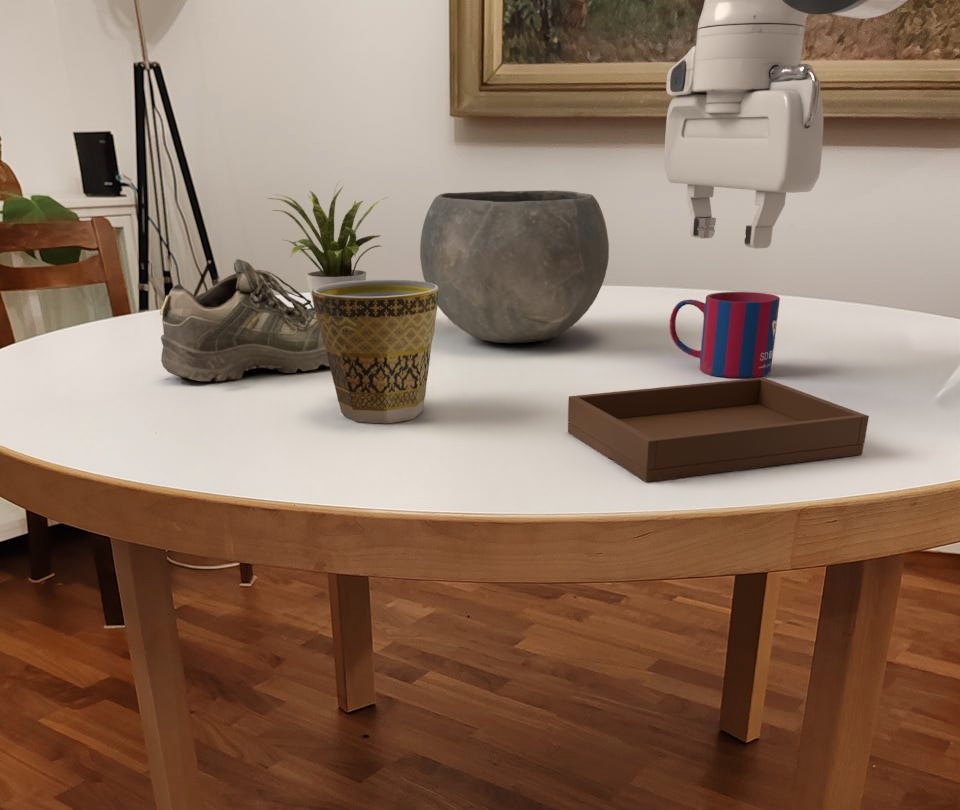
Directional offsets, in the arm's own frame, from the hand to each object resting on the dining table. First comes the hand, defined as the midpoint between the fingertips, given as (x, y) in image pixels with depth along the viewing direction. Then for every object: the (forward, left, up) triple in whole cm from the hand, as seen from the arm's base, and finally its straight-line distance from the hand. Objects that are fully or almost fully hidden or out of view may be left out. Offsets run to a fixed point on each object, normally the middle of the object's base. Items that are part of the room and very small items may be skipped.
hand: (728, 242), depth 90 cm
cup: (0, 0, -12) cm, 12 cm away
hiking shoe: (+41, -17, -12) cm, 46 cm away
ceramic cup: (+35, +3, -12) cm, 37 cm away
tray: (+14, +22, -12) cm, 28 cm away
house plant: (+31, -38, -12) cm, 50 cm away
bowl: (+13, -22, -12) cm, 28 cm away
